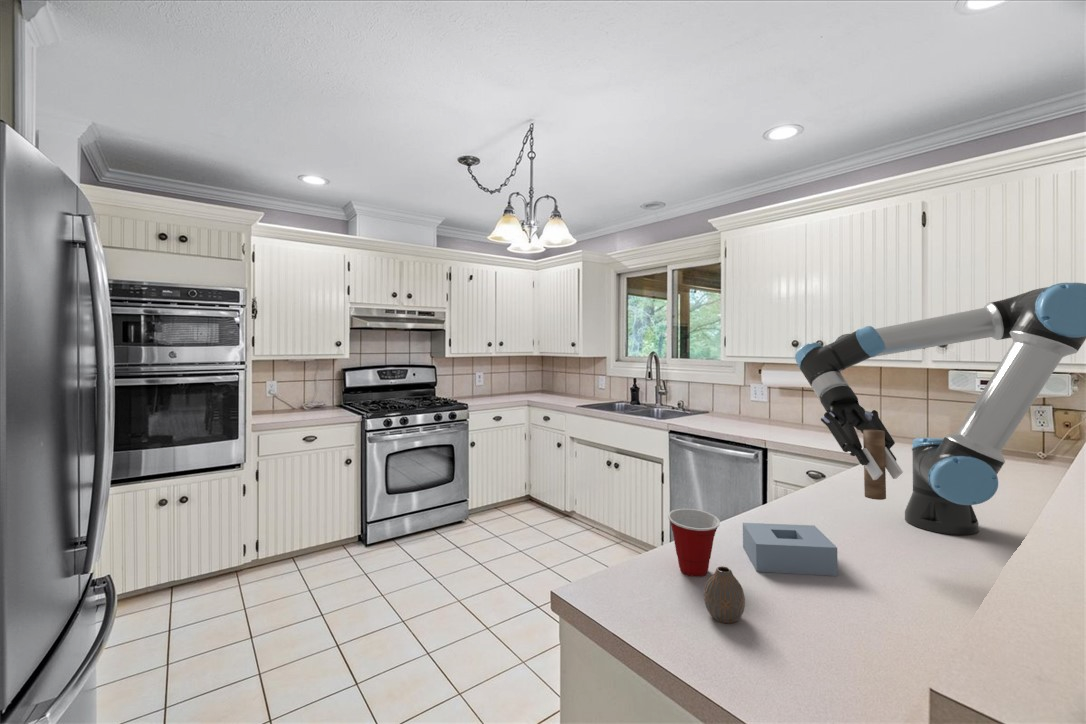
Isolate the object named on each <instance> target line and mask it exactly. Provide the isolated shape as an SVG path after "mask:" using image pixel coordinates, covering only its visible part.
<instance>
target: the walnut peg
mask: <svg viewBox="0 0 1086 724" xmlns="http://www.w3.org/2000/svg"><path fill="white" fill-rule="evenodd" d="M862 435H863V436H862V437H863V439H862V440H863V441H862V442H863V443H862V444H863V445H862V446H863V448H867V449H868V451H869V452H870V454H871V456H872V457H873V459H874V460H875V462H876V463H877V465H878V466H879V468H880V470H881V471H882V473H883V474H882V475H881V476H880V477H879V478H878V479H877V480H873V479H872V477H871V476H870V474H869V473H868V471H867V469H866V468H865V466H864V465H863V475H864V476H863V479H864V481H863V482H864V483H863V485H864V486H863V487H864V488H863V489H864V497H865V498H867V499H870V500H876V501H881V500H882V501H884V500H886V499H887V481H886V477H887V476H886V475H887V474H886V472H887V471H886V467H885V431H882V430H873V429H867V430H863V433H862Z"/></svg>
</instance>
